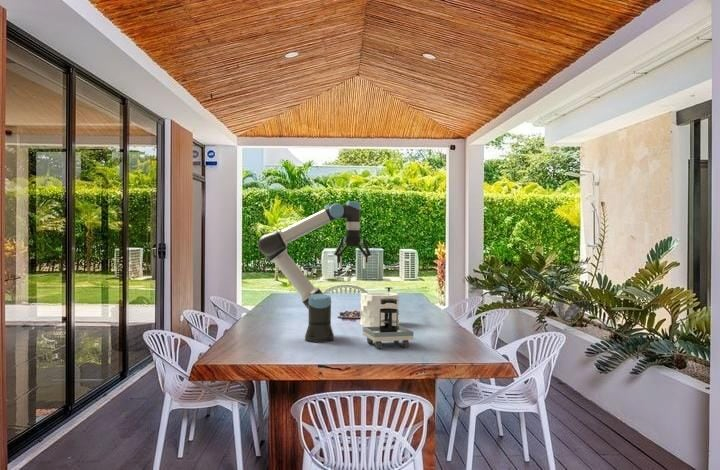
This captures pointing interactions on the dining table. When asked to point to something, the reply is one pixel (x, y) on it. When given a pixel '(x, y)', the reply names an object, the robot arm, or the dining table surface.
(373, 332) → the grey tray with legs
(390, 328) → the french press
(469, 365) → the dining table surface
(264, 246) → the robot arm
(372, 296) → the basket
